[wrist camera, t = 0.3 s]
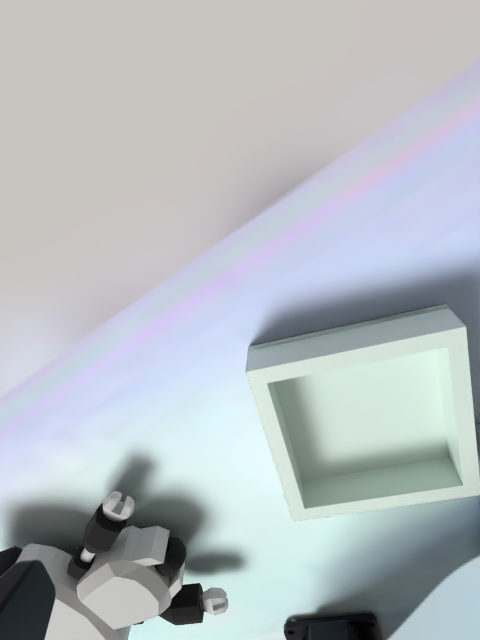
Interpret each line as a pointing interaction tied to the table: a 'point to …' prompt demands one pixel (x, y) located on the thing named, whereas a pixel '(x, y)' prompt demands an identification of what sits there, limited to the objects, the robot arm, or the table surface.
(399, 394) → the tray
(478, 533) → the table surface
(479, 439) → the crank base
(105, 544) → the robot toy
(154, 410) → the table surface
